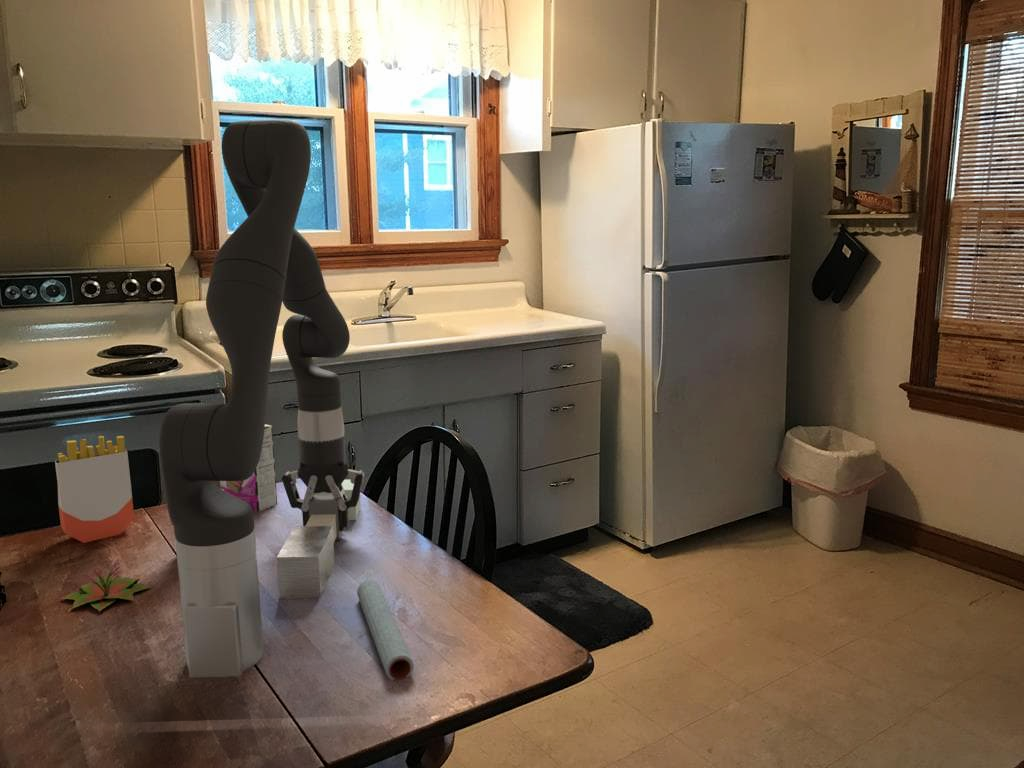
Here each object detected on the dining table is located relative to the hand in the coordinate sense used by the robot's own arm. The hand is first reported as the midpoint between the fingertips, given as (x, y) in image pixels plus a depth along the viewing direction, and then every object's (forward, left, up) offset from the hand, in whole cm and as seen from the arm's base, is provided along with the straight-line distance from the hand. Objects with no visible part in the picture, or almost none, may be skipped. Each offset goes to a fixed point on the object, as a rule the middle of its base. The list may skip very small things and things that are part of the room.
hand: (326, 529), depth 142 cm
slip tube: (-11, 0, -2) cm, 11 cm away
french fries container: (+4, +40, -2) cm, 40 cm away
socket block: (+10, 0, -2) cm, 10 cm away
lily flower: (-19, +29, -3) cm, 35 cm away
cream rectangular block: (-16, 0, -2) cm, 16 cm away
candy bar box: (+18, +18, -2) cm, 25 cm away
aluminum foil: (-34, -12, -3) cm, 36 cm away
